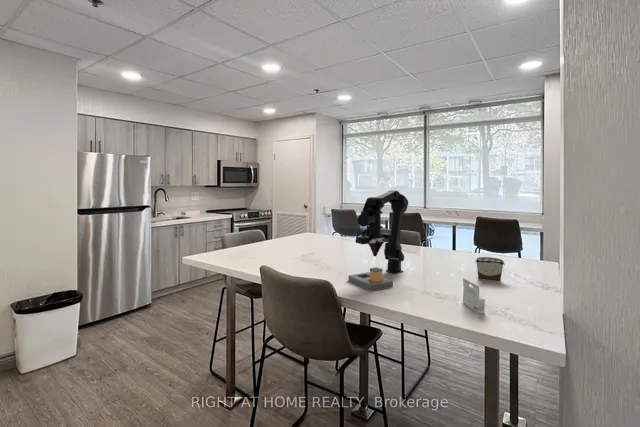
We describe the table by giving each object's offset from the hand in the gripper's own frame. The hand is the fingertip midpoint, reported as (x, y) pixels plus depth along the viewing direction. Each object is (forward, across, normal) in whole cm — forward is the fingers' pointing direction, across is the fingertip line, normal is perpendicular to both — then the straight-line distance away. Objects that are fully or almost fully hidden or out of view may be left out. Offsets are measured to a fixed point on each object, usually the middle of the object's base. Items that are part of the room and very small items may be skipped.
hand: (374, 256), depth 158 cm
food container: (+13, -47, +27) cm, 56 cm away
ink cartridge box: (+12, -8, +47) cm, 49 cm away
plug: (+11, +6, +8) cm, 15 cm away
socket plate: (+11, +6, +4) cm, 13 cm away
